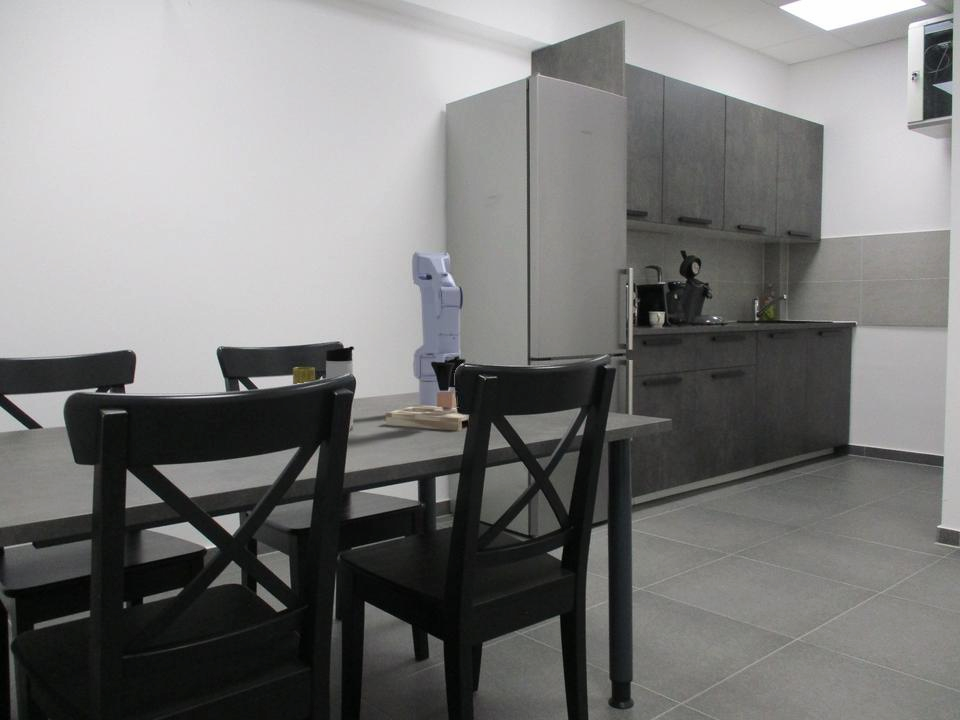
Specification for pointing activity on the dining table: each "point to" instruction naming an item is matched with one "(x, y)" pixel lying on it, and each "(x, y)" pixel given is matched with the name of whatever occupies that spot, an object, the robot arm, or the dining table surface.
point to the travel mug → (340, 365)
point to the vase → (303, 374)
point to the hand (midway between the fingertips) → (448, 388)
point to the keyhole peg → (446, 401)
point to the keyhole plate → (426, 418)
